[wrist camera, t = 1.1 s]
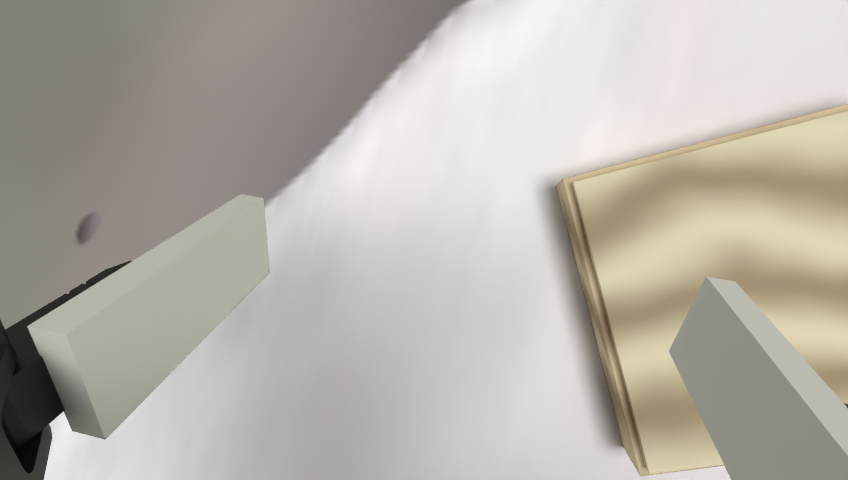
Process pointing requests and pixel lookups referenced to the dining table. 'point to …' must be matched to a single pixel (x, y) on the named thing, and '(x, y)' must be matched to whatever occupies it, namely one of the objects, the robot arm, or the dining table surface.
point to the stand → (711, 265)
